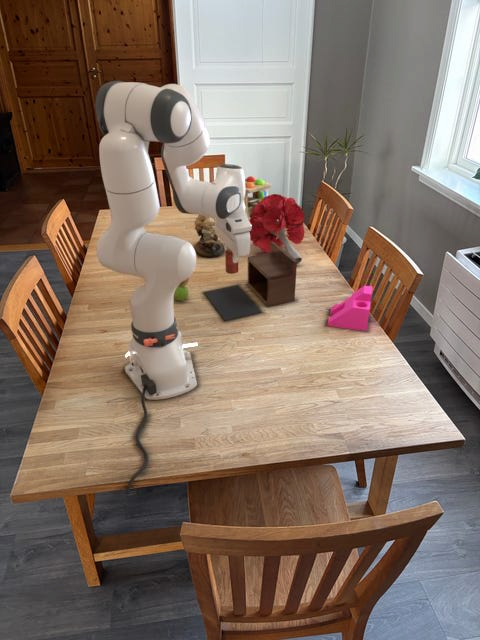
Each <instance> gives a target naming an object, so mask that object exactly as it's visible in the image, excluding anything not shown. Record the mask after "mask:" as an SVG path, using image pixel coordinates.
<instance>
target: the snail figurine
mask: <svg viewBox="0 0 480 640" xmlns="http://www.w3.org/2000/svg"><path fill="white" fill-rule="evenodd" d="M189 280H190V277H189V278H188V279H186V280H185V281H183V282H181V283H180V284H179V285H178V286H177V288H176V290H175V293H174V299H175V300H176V301H180V302H181V301H184V300H186V299H187V298H188V297H189V289H188V287H187V286H186V285H188V283H189Z"/></svg>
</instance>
